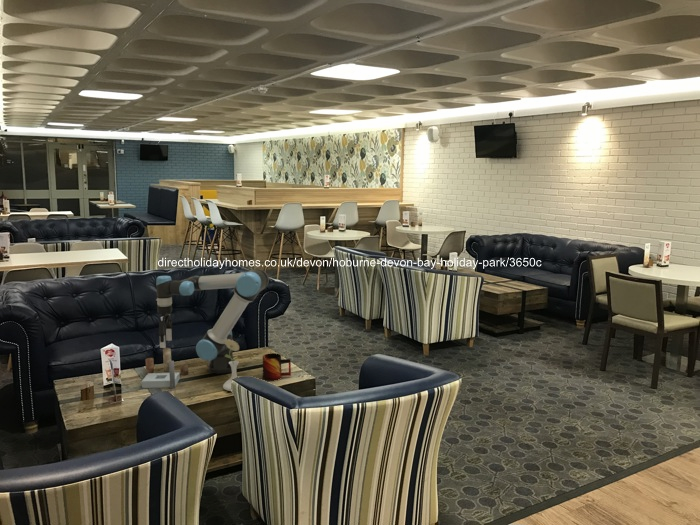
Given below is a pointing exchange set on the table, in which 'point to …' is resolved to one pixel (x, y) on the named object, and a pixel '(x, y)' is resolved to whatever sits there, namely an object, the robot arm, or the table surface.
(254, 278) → the robot arm
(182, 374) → the short pin
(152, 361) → the medium pin
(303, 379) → the table surface
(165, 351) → the long pin
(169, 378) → the hole plate
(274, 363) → the mug
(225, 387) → the flower in vase
